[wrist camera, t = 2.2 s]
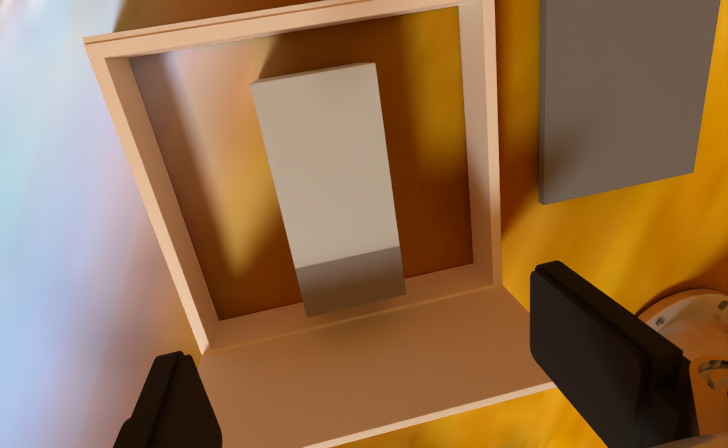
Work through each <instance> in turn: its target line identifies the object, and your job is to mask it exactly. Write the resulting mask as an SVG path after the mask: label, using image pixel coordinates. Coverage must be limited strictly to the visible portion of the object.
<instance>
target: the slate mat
mask: <svg viewBox="0 0 728 448" xmlns="http://www.w3.org/2000/svg"><path fill="white" fill-rule="evenodd" d="M719 6H720V0H541V16H540V117H539V203H541V204H543V205H546V204H550V203H555V202H560V201H564V200H569V199H573V198H578V197H583V196H587V195H592V194H597V193H601V192H606V191H610V190H615V189H620V188H624V187H629V186H634V185H638V184H643V183H647V182H652V181H657V180H661V179H666V178H671V177H675V176H680V175H684V174H689V173H693V171H694V164H695V158H696V152H697V145H698V139H699V133H700V126H701V120H702V114H703V107H704V101H705V95H706V88H707V82H708V76H709V69H710V63H711V57H712V50H713V44H714V38H715V32H716V25H717V19H718V13H719Z"/></svg>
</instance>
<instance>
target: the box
mask: <svg viewBox="0 0 728 448" xmlns="http://www.w3.org/2000/svg"><path fill="white" fill-rule="evenodd" d="M250 88H251V92H252V96H253V100H254V104H255V108H256V112H257V116H258V120H259V125H260V129H261V133H262V137H263V141H264V145H265V149H266V153H267V157H268V161H269V165H270V169H271V173H272V177H273V181H274V185H275V189H276V193H277V197H278V201H279V205H280V210H281V214H282V218H283V222H284V226H285V230H286V234H287V238H288V242H289V246H290V250H291V254H292V258H293V262H294V266H295V271H296V275H297V279H298V283H299V287H300V291H301V295H302V299H303V303H304V308H305V312H306V316H307V318H308V317H312V316H316V315H321V314H325V313H329V312H334V311H338V310H342V309H347V308H351V307H355V306H360V305H364V304H368V303H373V302H377V301H381V300H385V299H390V298H394V297H398V296H403V295H406V288H405V280H404V273H403V265H402V258H401V250H400V245H399V237H398V230H397V222H396V215H395V207H394V200H393V192H392V185H391V177H390V170H389V162H388V155H387V147H386V140H385V132H384V125H383V117H382V110H381V102H380V95H379V87H378V80H377V72H376V65H375V63H352V64H346V65H340V66H334V67H328V68H322V69H317V70H311V71H305V72H299V73H293V74H287V75H281V76H275V77H270V78H264V79H258V80H256V81H254V82H253V83H251V84H250Z"/></svg>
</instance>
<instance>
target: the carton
mask: <svg viewBox="0 0 728 448" xmlns="http://www.w3.org/2000/svg"><path fill="white" fill-rule="evenodd" d="M458 5H459V22H460V39H461V57H462V74H463V91H464V108H465V126H466V143H467V160H468V177H469V194H470V212H471V229H472V246H473V263H472V264H468V265H463V266H459V267H455V268H450V269H446V270H441V271H437V272H433V273H428V274H424V275H419V276H415V277H411V278H406V279H404V280H405V288H406V295H403V296H398V297H394V298H390V299H385V300H381V301H377V302H373V303H368V304H364V305H360V306H355V307H351V308H347V309H342V310H338V311H334V312H329V313H325V314H321V315H316V316H312V317H308V318H307V316H306V312H305V308H304V303H303V302H301V303H296V304H292V305H287V306H283V307H279V308H274V309H270V310H265V311H261V312H257V313H252V314H248V315H243V316H239V317H235V318H230V319H226V320H221V321H219V319H218V317H217V314H216V311H215V308H214V305H213V302H212V299H211V296H210V294H209V291H208V288H207V285H206V282H205V279H204V276H203V273H202V270H201V268H200V265H199V262H198V259H197V256H196V253H195V250H194V247H193V245H192V242H191V239H190V236H189V233H188V230H187V227H186V224H185V221H184V219H183V216H182V213H181V210H180V207H179V204H178V201H177V198H176V195H175V193H174V190H173V187H172V184H171V181H170V178H169V175H168V172H167V170H166V167H165V164H164V161H163V158H162V155H161V152H160V149H159V146H158V144H157V141H156V138H155V135H154V132H153V129H152V126H151V123H150V121H149V118H148V115H147V112H146V109H145V106H144V103H143V100H142V97H141V95H140V92H139V89H138V86H137V83H136V80H135V77H134V74H133V72H132V69H131V66H130V63H129V60H128V58H132V57H138V56H145V55H151V54H157V53H163V52H170V51H176V50H182V49H188V48H195V47H201V46H207V45H214V44H220V43H226V42H232V41H239V40H245V39H251V38H257V37H264V36H270V35H276V34H282V33H289V32H295V31H301V30H308V29H314V28H320V27H326V26H333V25H339V24H345V23H351V22H358V21H364V20H370V19H377V18H383V17H389V16H395V15H402V14H408V13H414V12H420V11H427V10H433V9H439V8H446V7H452V6H458ZM82 39H83V41H84V44H85V45H84V47H85V49H86V52H87V55H88V57H89V60H90V62H91V65H92V68H93V70H94V73H95V76H96V78H97V81H98V83H99V86H100V89H101V91H102V94H103V97H104V99H105V102H106V104H107V107H108V110H109V112H110V115H111V118H112V120H113V123H114V125H115V128H116V131H117V133H118V136H119V139H120V141H121V144H122V146H123V149H124V152H125V154H126V157H127V160H128V162H129V165H130V168H131V170H132V173H133V175H134V178H135V181H136V183H137V186H138V189H139V191H140V194H141V196H142V199H143V202H144V204H145V207H146V210H147V212H148V215H149V217H150V220H151V223H152V225H153V228H154V231H155V233H156V236H157V238H158V241H159V244H160V246H161V249H162V252H163V254H164V257H165V259H166V262H167V265H168V267H169V270H170V273H171V275H172V278H173V281H174V283H175V286H176V288H177V291H178V294H179V296H180V299H181V302H182V304H183V307H184V309H185V312H186V315H187V317H188V320H189V323H190V325H191V328H192V330H193V333H194V336H195V338H196V341H197V344H198V346H199V349H200V351H201V354H202V358H201V362H200V365H199V369H198V373H199V376H200V378H201V381H202V383H203V386H204V388H205V391H206V393H207V396H208V398H209V401H210V403H211V406H212V408H213V411H214V413H215V416H216V418H217V421H218V423H219V426H220V428H221V432H222V448H329V447H333V446H337V445H341V444H344V443H348V442H352V441H356V440H359V439H363V438H367V437H371V436H375V435H378V434H382V433H386V432H390V431H393V430H397V429H401V428H405V427H408V426H412V425H416V424H420V423H424V422H427V421H431V420H435V419H439V418H442V417H446V416H450V415H454V414H457V413H461V412H465V411H469V410H472V409H476V408H480V407H484V406H488V405H491V404H495V403H499V402H503V401H506V400H510V399H514V398H518V397H521V396H525V395H529V394H533V393H537V392H540V391H544V390H548V389H552V388H555V387H557V386H556V385H555V384H554V383H553V381H552V380H551V379H550V378H549V377H548V376H547V374H546V373H545V372H544V371H543V370H542V368H541V367H540V366H539V365H538V364H537V363H536V361H535V360H534V358H533V357H532V354H531V351H530V313H529V312H528V311H527V310H526V309H525V308H524V307H523V306H522V305H521V304H520V303H519V302H518V301H517V300H516V299H515V298H514V297H513V296H512V295H511V294H510V292H509V291H508V290H507V289H506V288H505V287H504V286H503V285H502V251H501V216H500V180H499V145H498V109H497V74H496V39H495V3H494V0H325V1H319V2H312V3H306V4H299V5H292V6H286V7H279V8H273V9H266V10H260V11H253V12H247V13H240V14H234V15H227V16H221V17H214V18H207V19H201V20H194V21H188V22H181V23H175V24H168V25H162V26H155V27H149V28H142V29H136V30H129V31H122V32H116V33H109V34H103V35H96V36H90V37H83V38H82Z"/></svg>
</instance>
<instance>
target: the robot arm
mask: <svg viewBox="0 0 728 448" xmlns="http://www.w3.org/2000/svg"><path fill="white" fill-rule="evenodd" d="M530 351H531V354H532V357H533V358H534V360H535V361H536V363H537V364H538V365H539V366H540V367H541V368H542V370H543V371H544V372H545V373H546V374H547V376H548V377H549V378H550V379H551V380H552V381H553V383H554V384H555V385H556V386H557V387H558V389H559V390H560V391H561V392H562V393H563V394H564V396H565V397H566V398H567V399H568V400H569V402H570V403H571V404H572V405H573V406H574V408H575V409H576V410H577V411H578V412H579V413H580V415H581V416H582V417H583V418H584V419H585V421H586V422H587V423H588V424H589V425H590V426H591V428H592V429H593V430H594V431H595V432H596V434H597V435H598V436H599V437H600V438H601V439H602V441H603V442H604V443H605V444H606V445H607V447H608V448H728V295H726V294H724V293H721V292H719V291H716V290H711V289H691V290H687V291H683V292H679V293H676V294H674V295H671V296H669V297H667V298H664V299H662V300H661V301H659V302H657V303H655V304H654V305H652V306H650V307H649V308H648V309H647V310H645V311H644V312H643V313H641V314H640V315H639V316H638V317H636V316H635V315H633V314H632V313H631V312H629V311H628V310H626V309H625V308H624V307H622V306H621V305H620V304H618V303H617V302H615V301H614V300H613V299H611V298H610V297H609V296H607V295H606V294H604V293H603V292H602V291H600V290H599V289H598V288H596V287H595V286H593V285H592V284H591V283H589V282H588V281H587V280H585V279H584V278H582V277H581V276H580V275H578V274H577V273H576V272H574V271H573V270H571V269H570V268H569V267H567V266H566V265H564V264H563V263H562V262H560V261H552V262H548V263H544V264H539V265H537V266H536V268H535V271H533V272H532V273H531V276H530ZM113 448H222V432H221V428H220V426H219V423H218V421H217V418H216V416H215V413H214V411H213V408H212V406H211V403H210V401H209V398H208V396H207V393H206V391H205V388H204V386H203V383H202V381H201V378H200V376H199V373H198V371H197V368H196V366H195V363H194V361H193V358H192V356H191V355H184V354H183V352H182V351H177V352H173V353H169V354H165V355H160V356H157V357H156V358H155V360H154V362H153V364H152V367H151V369H150V372H149V374H148V377H147V379H146V382H145V384H144V387H143V389H142V391H141V394H140V396H139V399H138V401H137V404H136V406H135V409H134V411H133V413H132V416H131V418H129V419H128V420H126V421H125V422H124V424H123V426H122V427H121V430H120V432H119V434H118V437H117V439H116V441H115V444H114V446H113Z"/></svg>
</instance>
